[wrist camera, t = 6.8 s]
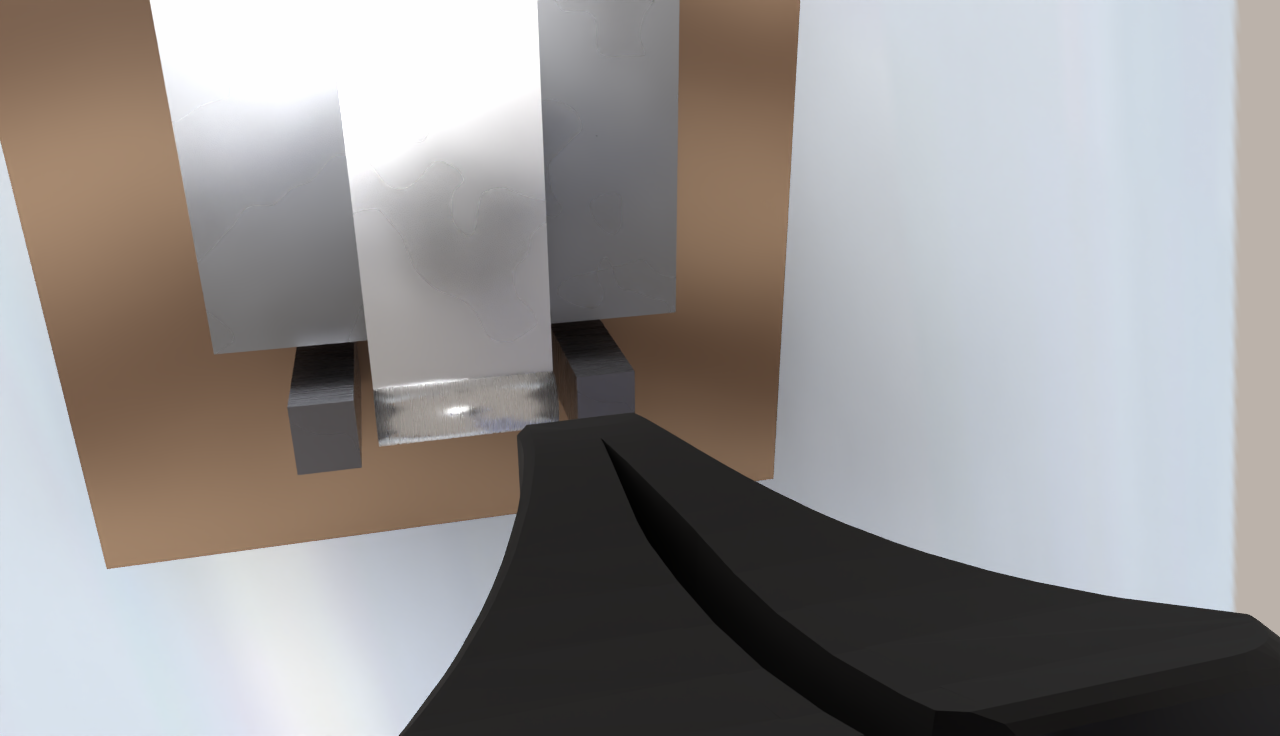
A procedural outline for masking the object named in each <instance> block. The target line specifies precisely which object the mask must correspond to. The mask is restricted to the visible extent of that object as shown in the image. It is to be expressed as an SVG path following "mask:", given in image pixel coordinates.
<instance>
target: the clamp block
mask: <svg viewBox="0 0 1280 736" xmlns="http://www.w3.org/2000/svg"><path fill="white" fill-rule="evenodd" d="M150 4H151V10H152V15H153V21H154V26H155V32H156V37H157V43H158V48H159V54H160V59H161V65H162V70H163V76H164V81H165V87H166V92H167V98H168V103H169V109H170V114H171V120H172V125H173V131H174V136H175V142H176V148H177V153H178V159H179V164H180V170H181V175H182V181H183V186H184V192H185V197H186V203H187V208H188V214H189V219H190V225H191V230H192V236H193V241H194V247H195V252H196V258H197V263H198V269H199V274H200V280H201V285H202V291H203V296H204V302H205V307H206V313H207V318H208V324H209V330H210V335H211V341H212V346H213V352H214V354H224V353H235V352H246V351H257V350H268V349H279V348H290V347H297V348H296V354H295V361H294V367H293V374H292V380H291V387H290V393H289V399H288V406H287V409H288V416H289V422H290V429H291V435H292V442H293V448H294V455H295V461H296V468H297V474H298V475H305V474H313V473H321V472H330V471H338V470H346V469H355V468H362V418H361V377H360V369H359V361H358V352H357V344H356V341H367V331H366V323H365V314H364V305H363V297H362V288H361V279H360V271H359V262H358V253H357V245H356V236H355V228H354V219H353V210H352V202H351V193H350V184H349V176H348V167H347V158H346V150H345V141H344V132H343V124H342V115H341V106H340V98H339V89H338V81H337V72H336V63H335V55H334V46H333V37H332V29H331V20H330V11H329V3H328V0H150ZM537 12H538V36H539V59H540V83H541V106H542V130H543V153H544V176H545V200H546V223H547V247H548V270H549V294H550V317H551V341H552V364H553V373H554V376H555V380H556V385H557V391H558V398H559V400H560V402H561V404H562V406H563V408H564V411H565V413H566V415H567V417H568V419H569V420H572V419H580V418H589V417H597V416H606V415H614V414H623V413H631V412H633V413H635V371H634V369H633V368H632V366H631V365H630V363H629V362H628V360H627V359H626V357H625V356H624V354H623V353H622V351H621V350H620V348H619V347H618V345H617V344H616V343H615V341H614V340H613V338H612V337H611V335H610V334H609V332H608V331H607V329H606V328H605V326H604V325H603V323H602V322H601V320H600V319H608V318H619V317H630V316H641V315H652V314H663V313H674V312H676V247H677V165H678V82H679V0H537Z"/></svg>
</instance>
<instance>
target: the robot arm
mask: <svg viewBox="0 0 1280 736" xmlns="http://www.w3.org/2000/svg"><path fill="white" fill-rule="evenodd" d="M517 448H518V466H519V485H520V499H519V505H518V511H517V515H516V519H515V523H514V526H513V529H512V532H511V536H510V539H509V542H508V546H507V549H506V552H505V556H504V558H503V561H502V564H501V567H500V569H499V572H498V574H497V577H496V579H495V582H494V584H493V587H492V589H491V591H490V593H489V595H488V598H487V600H486V602H485V604H484V606H483V608H482V610H481V613H480V615H479V616H478V618H477V620H476V622H475V624H474V626H473V627H472V629H471V631H470V633H469V635H468V636H467V638H466V640H465V642H464V644H463V645H462V647H461V649H460V651H459V652H458V654H457V656H456V657H455V659H454V661H453V662H452V664H451V665H450V667H449V668H448V670H447V671H446V673H445V675H444V676H443V677H442V679H441V680H440V681H439V683H438V684H437V685H436V687H435V688H434V690H433V691H432V692H431V694H430V695H429V696H428V698H427V699H426V700H425V702H424V703H423V704H422V706H421V707H420V708H419V710H418V711H417V713H416V714H415V715H414V717H413V718H412V719H411V721H410V722H409V723H408V725H407V726H406V727H405V729H404V730H403V731H402V732H401V733H400V735H399V736H1280V637H1279V636H1278V635H1276V634H1275V633H1274V632H1272V631H1271V630H1270V629H1269V628H1267V627H1266V626H1265V625H1263V624H1262V623H1261V622H1260V621H1258V620H1257V619H1255V618H1254V617H1252V616H1250V615H1248V614H1242V613H1234V612H1226V611H1218V610H1211V609H1203V608H1195V607H1187V606H1179V605H1171V604H1164V603H1156V602H1148V601H1140V600H1132V599H1125V598H1118V597H1112V596H1106V595H1101V594H1096V593H1090V592H1085V591H1080V590H1075V589H1070V588H1065V587H1060V586H1054V585H1049V584H1044V583H1039V582H1035V581H1030V580H1026V579H1022V578H1017V577H1013V576H1009V575H1005V574H1000V573H996V572H992V571H988V570H985V569H981V568H978V567H974V566H971V565H967V564H963V563H960V562H956V561H953V560H949V559H946V558H942V557H939V556H935V555H932V554H928V553H925V552H922V551H919V550H916V549H913V548H910V547H907V546H904V545H901V544H898V543H895V542H892V541H890V540H887V539H884V538H882V537H879V536H876V535H874V534H871V533H868V532H866V531H863V530H861V529H858V528H855V527H853V526H850V525H847V524H845V523H842V522H840V521H837V520H835V519H833V518H830V517H828V516H826V515H823V514H821V513H819V512H817V511H814V510H812V509H810V508H808V507H806V506H804V505H802V504H800V503H798V502H796V501H794V500H792V499H789V498H787V497H785V496H783V495H781V494H779V493H777V492H775V491H773V490H771V489H769V488H767V487H765V486H763V485H761V484H759V483H758V482H756V481H754V480H752V479H750V478H748V477H746V476H744V475H743V474H741V473H739V472H737V471H735V470H734V469H732V468H730V467H728V466H727V465H725V464H723V463H721V462H719V461H718V460H716V459H714V458H713V457H711V456H709V455H707V454H706V453H704V452H702V451H701V450H699V449H697V448H695V447H694V446H692V445H690V444H689V443H687V442H685V441H684V440H682V439H680V438H679V437H677V436H675V435H674V434H672V433H670V432H669V431H667V430H665V429H663V428H662V427H660V426H658V425H657V424H655V423H653V422H651V421H650V420H648V419H646V418H644V417H642V416H640V415H638V414H636V413H633V412H631V413H623V414H614V415H606V416H597V417H589V418H580V419H572V420H564V421H555V422H547V423H538V424H530V425H526V426H525V427H524V428H523V429H522V430H521V431H520V433H519V434H518V435H517Z"/></svg>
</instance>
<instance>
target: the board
mask: <svg viewBox="0 0 1280 736" xmlns="http://www.w3.org/2000/svg"><path fill="white" fill-rule="evenodd" d="M799 11H800V0H679V82H678V165H677V247H676V312H674V313H663V314H652V315H641V316H630V317H619V318H608V319H600V320H601V322H602V323H603V325H604V326H605V328H606V329H607V331H608V332H609V334H610V335H611V337H612V338H613V340H614V341H615V343H616V344H617V345H618V347H619V348H620V350H621V351H622V353H623V354H624V356H625V357H626V359H627V360H628V362H629V363H630V365H631V366H632V368H633V369H634V371H635V413H636V414H638V415H640V416H642V417H644V418H646V419H648V420H650V421H651V422H653V423H655V424H657V425H658V426H660V427H662V428H663V429H665V430H667V431H669V432H670V433H672V434H674V435H675V436H677V437H679V438H680V439H682V440H684V441H685V442H687V443H689V444H690V445H692V446H694V447H695V448H697V449H699V450H701V451H702V452H704V453H706V454H707V455H709V456H711V457H713V458H714V459H716V460H718V461H719V462H721V463H723V464H725V465H727V466H728V467H730V468H732V469H734V470H735V471H737V472H739V473H741V474H743V475H744V476H746V477H748V478H750V479H752V480H754V481H759V480H767V479H773V474H774V456H775V438H776V421H777V403H778V385H779V367H780V349H781V332H782V314H783V296H784V278H785V260H786V243H787V225H788V207H789V189H790V172H791V154H792V136H793V118H794V100H795V83H796V65H797V47H798V29H799ZM0 141H1V145H2V149H3V153H4V157H5V161H6V165H7V169H8V173H9V177H10V181H11V185H12V189H13V193H14V197H15V201H16V205H17V209H18V213H19V218H20V222H21V226H22V230H23V234H24V238H25V242H26V246H27V250H28V254H29V258H30V262H31V266H32V270H33V274H34V278H35V282H36V286H37V290H38V294H39V298H40V302H41V306H42V310H43V314H44V318H45V322H46V326H47V330H48V334H49V338H50V342H51V346H52V350H53V354H54V358H55V362H56V366H57V370H58V374H59V378H60V382H61V386H62V390H63V394H64V399H65V403H66V407H67V411H68V415H69V419H70V423H71V427H72V431H73V435H74V439H75V443H76V447H77V451H78V455H79V459H80V463H81V467H82V471H83V475H84V479H85V483H86V487H87V491H88V495H89V499H90V503H91V507H92V511H93V515H94V519H95V523H96V527H97V531H98V535H99V539H100V543H101V547H102V551H103V555H104V559H105V563H106V567H107V569H111V568H118V567H126V566H133V565H140V564H148V563H155V562H162V561H170V560H177V559H184V558H192V557H199V556H207V555H214V554H221V553H229V552H236V551H243V550H251V549H258V548H266V547H273V546H280V545H288V544H295V543H302V542H310V541H317V540H325V539H332V538H339V537H347V536H354V535H361V534H369V533H376V532H383V531H391V530H398V529H406V528H413V527H420V526H428V525H435V524H442V523H450V522H457V521H465V520H472V519H479V518H487V517H494V516H501V515H509V514H516V513H517V511H518V505H519V499H520V485H519V466H518V448H517V435H518V434H519V433H520V431H521V430H520V431H511V432H503V433H494V434H486V435H477V436H468V437H460V438H451V439H442V440H434V441H425V442H417V443H408V444H399V445H391V446H382V447H379V442H378V434H377V426H376V417H375V406H374V394H373V383H372V375H371V366H370V357H369V349H368V340H367V341H356V344H357V352H358V361H359V369H360V377H361V418H362V468H355V469H346V470H338V471H330V472H321V473H313V474H305V475H298V474H297V468H296V461H295V455H294V448H293V442H292V435H291V429H290V422H289V416H288V409H287V406H288V399H289V393H290V387H291V380H292V374H293V367H294V361H295V354H296V348H297V347H290V348H279V349H268V350H257V351H246V352H235V353H224V354H214V352H213V346H212V341H211V335H210V330H209V324H208V318H207V313H206V307H205V302H204V296H203V291H202V285H201V280H200V274H199V269H198V263H197V258H196V252H195V247H194V241H193V236H192V230H191V225H190V219H189V214H188V208H187V203H186V197H185V192H184V186H183V181H182V175H181V170H180V164H179V159H178V153H177V148H176V142H175V136H174V131H173V125H172V120H171V114H170V109H169V103H168V98H167V92H166V87H165V81H164V76H163V70H162V65H161V59H160V54H159V48H158V43H157V37H156V32H155V26H154V21H153V15H152V10H151V4H150V0H0ZM558 400H559V398H558ZM564 420H569V419H568V417H567V415H566V413H565V411H564V408H563V406H562V404H561V402H560V400H559V421H564Z"/></svg>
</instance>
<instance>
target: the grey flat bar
mask: <svg viewBox="0 0 1280 736" xmlns="http://www.w3.org/2000/svg"><path fill="white" fill-rule="evenodd" d="M328 3H329V11H330V20H331V29H332V37H333V46H334V55H335V63H336V72H337V81H338V89H339V98H340V106H341V115H342V124H343V132H344V141H345V150H346V158H347V167H348V176H349V184H350V193H351V202H352V210H353V219H354V228H355V236H356V245H357V253H358V262H359V271H360V279H361V288H362V297H363V305H364V314H365V323H366V331H367V340H368V349H369V357H370V366H371V375H372V383H373V394H374V406H375V417H376V426H377V434H378V442H379V447H382V446H391V445H399V444H408V443H417V442H425V441H434V440H442V439H451V438H460V437H468V436H477V435H486V434H494V433H503V432H511V431H520V430H522V429H523V428H524V427H525V426H526V425H530V424H538V423H547V422H555V421H559V400H558V391H557V385H556V380H555V376H554V373H553V364H552V341H551V317H550V294H549V270H548V247H547V223H546V200H545V176H544V153H543V130H542V106H541V83H540V59H539V36H538V12H537V0H328Z"/></svg>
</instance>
